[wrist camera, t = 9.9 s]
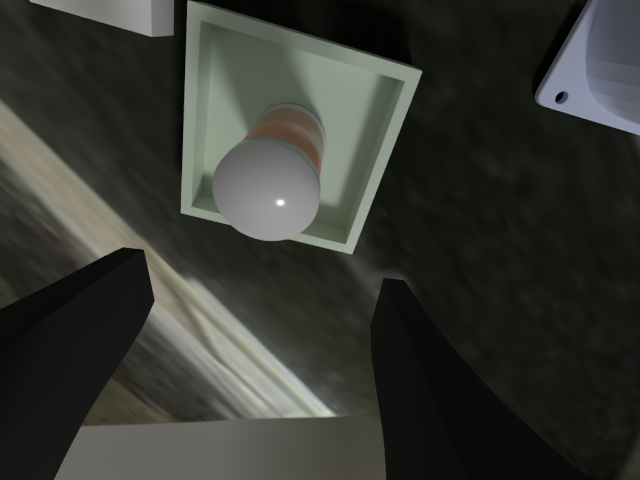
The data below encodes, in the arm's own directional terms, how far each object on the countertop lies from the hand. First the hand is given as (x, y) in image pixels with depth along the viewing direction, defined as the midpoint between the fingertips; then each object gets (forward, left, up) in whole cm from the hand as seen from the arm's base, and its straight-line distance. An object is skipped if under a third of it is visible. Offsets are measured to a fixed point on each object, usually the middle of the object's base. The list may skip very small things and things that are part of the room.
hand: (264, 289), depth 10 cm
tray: (+1, -2, -9) cm, 9 cm away
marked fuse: (+1, -2, -8) cm, 9 cm away
